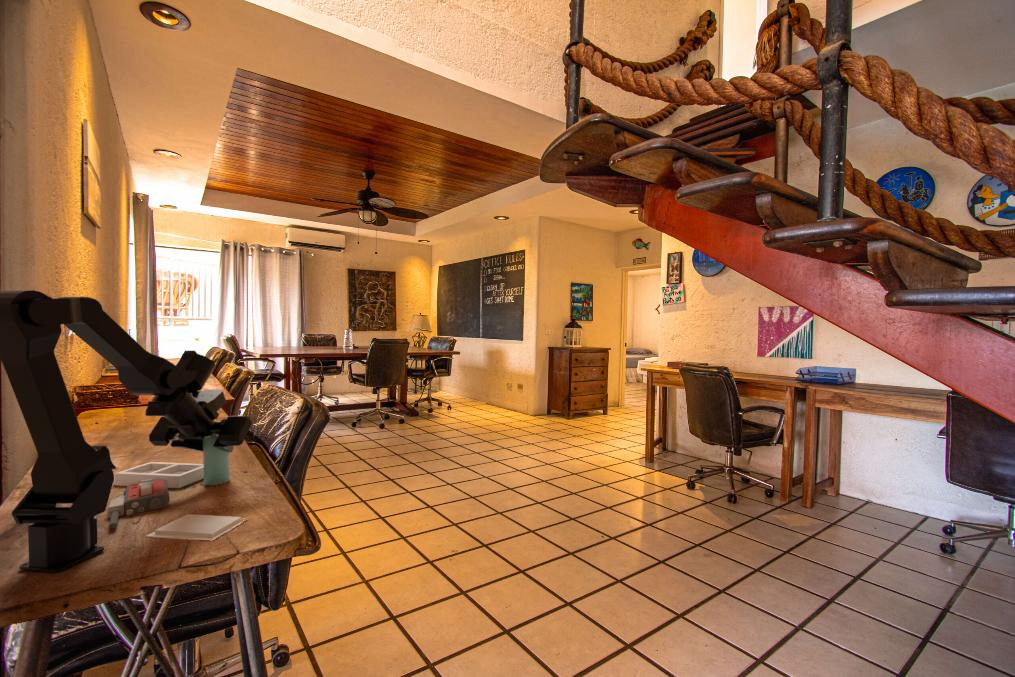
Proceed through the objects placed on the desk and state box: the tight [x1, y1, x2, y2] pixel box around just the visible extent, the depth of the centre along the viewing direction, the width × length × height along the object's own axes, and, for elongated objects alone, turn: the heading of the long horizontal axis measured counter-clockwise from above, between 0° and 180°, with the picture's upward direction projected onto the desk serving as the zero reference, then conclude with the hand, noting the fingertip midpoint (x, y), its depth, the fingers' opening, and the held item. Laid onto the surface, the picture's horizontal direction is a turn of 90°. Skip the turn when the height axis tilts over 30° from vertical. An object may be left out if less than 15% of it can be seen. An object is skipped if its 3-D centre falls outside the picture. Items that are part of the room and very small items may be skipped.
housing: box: [112, 461, 204, 489], centre depth 99 cm, size 9×16×2 cm, turn 82°
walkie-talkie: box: [107, 479, 170, 529], centre depth 83 cm, size 9×4×20 cm
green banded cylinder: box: [202, 420, 231, 486], centre depth 98 cm, size 5×5×13 cm
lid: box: [145, 513, 244, 542], centre depth 75 cm, size 12×8×1 cm, turn 82°
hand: (220, 450), depth 99 cm, fingers closed on green banded cylinder, 5 cm apart
